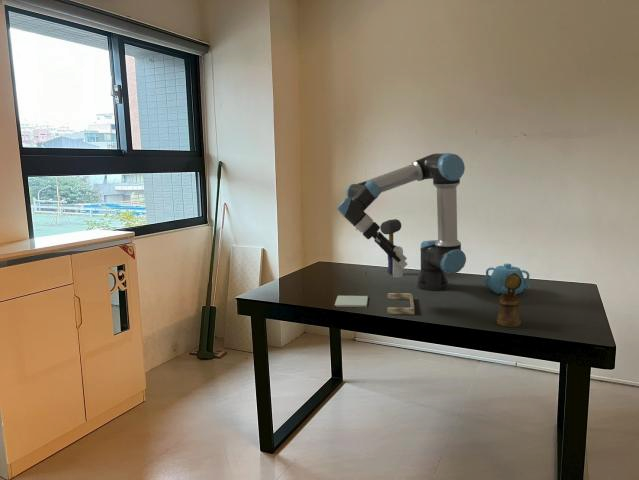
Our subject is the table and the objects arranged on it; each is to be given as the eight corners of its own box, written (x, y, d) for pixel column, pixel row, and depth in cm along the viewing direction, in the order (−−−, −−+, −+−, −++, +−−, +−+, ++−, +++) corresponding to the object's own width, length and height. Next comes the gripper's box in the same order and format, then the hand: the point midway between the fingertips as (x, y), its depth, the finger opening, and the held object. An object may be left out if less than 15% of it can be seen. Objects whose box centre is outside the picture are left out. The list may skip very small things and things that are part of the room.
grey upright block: (402, 277, 207) (402, 249, 204) (392, 277, 207) (392, 248, 205) (403, 272, 216) (403, 244, 214) (393, 271, 217) (393, 244, 215)
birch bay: (411, 298, 224) (411, 293, 224) (414, 314, 203) (414, 308, 202) (387, 298, 226) (387, 293, 225) (387, 314, 204) (387, 308, 204)
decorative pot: (498, 298, 221) (499, 269, 218) (481, 288, 237) (482, 261, 234) (532, 296, 223) (533, 267, 221) (513, 286, 239) (515, 259, 236)
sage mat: (367, 297, 228) (367, 295, 228) (366, 307, 214) (366, 305, 214) (337, 297, 230) (337, 295, 230) (334, 306, 216) (334, 304, 216)
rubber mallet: (391, 277, 263) (391, 221, 258) (379, 275, 268) (379, 220, 262) (402, 272, 273) (402, 218, 268) (390, 270, 277) (390, 218, 272)
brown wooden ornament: (525, 318, 194) (527, 273, 191) (518, 329, 183) (520, 282, 180) (501, 315, 199) (503, 271, 196) (493, 325, 188) (495, 279, 184)
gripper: (363, 229, 222) (398, 263, 222) (359, 238, 200) (399, 275, 200) (374, 217, 220) (410, 251, 221) (372, 225, 198) (412, 263, 199)
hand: (405, 263), depth 211 cm, fingers closed on grey upright block, 10 cm apart
